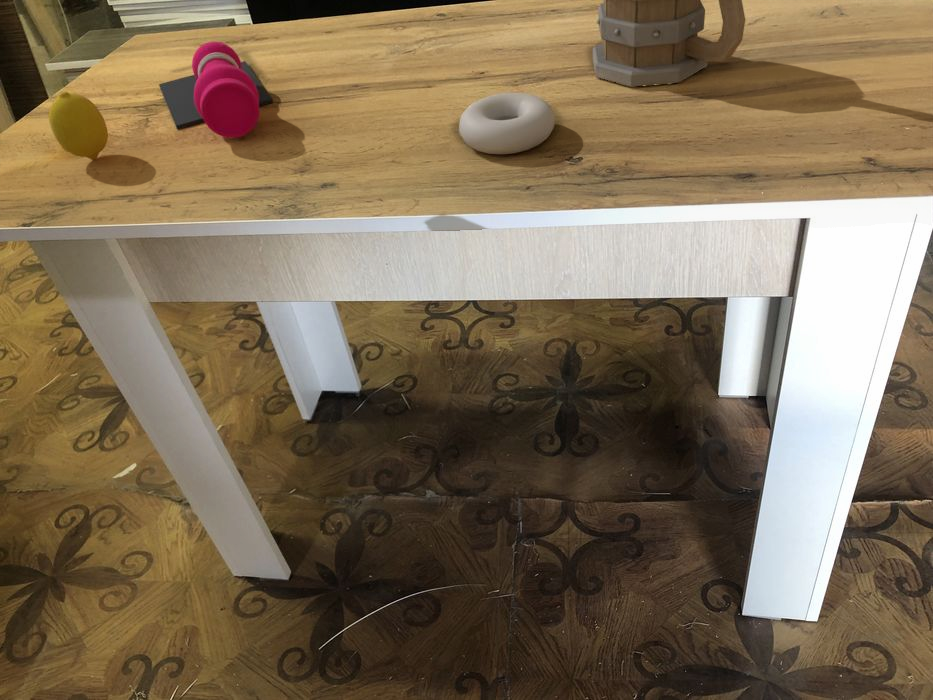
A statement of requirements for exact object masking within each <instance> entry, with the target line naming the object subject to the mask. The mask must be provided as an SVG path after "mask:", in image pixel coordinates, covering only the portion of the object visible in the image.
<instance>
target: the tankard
mask: <svg viewBox="0 0 933 700" xmlns="http://www.w3.org/2000/svg"><path fill="white" fill-rule="evenodd" d="M718 5H719V9H720V15H721V19H722V25H721V33H720V36H719V38H718V40H717V41H711V40H709V39H706V38H703V37H701V36H699V35H698V33H700V32H702V31H703V30H704V29H705V20H706V8H705V6H704V5H703V3H702V1H701V0H603V2H602V3H600V4H599V5H597V7H598V12H597V15H598V16H597V17H598V18H596V24H597V25H598V28H599V29H598V30H599V34H600V38H601V40H602V42H601V43H599V44H597V45H595V46H593V48H592V62H593V69H594V75H595V77H596V78H597V77H598V78H597V79H600V78H601V80H604V79H605V80H604V81H607V80H608V81H607V82H611V81H612V82H611V83H614V82H616V83H615V84H618V83H619V84H618V85H621V84H623V85H622V86H625V85H626V86H625V87H628V86H630V87H629V88H631V87H632V88H635V87H634V86H643V85H654V84H667V85H669V84H668V83H677V82H679V83H681V82H683V81H684V79H685V78H686V79H688V78H690V77H692V76H694V75H695V74H694V73H696V72H697V73H699V72H700V71H699V70H701V69H703V68H705V67H706V68H707V67H708V63H722V64H723V63H726V62H728V61H729V60H730V59H731V58H732V56H733V55H734V54H735V52H736V50H737V49H738V47H739V46H740V44H741V43H742V41H743V37H744V30H745V25H746V15H745V9H744V4H743V0H718ZM706 68H705V69H706ZM703 70H704V69H703ZM698 71H699V72H698ZM701 71H702V70H701ZM697 73H696V74H697ZM693 74H694V75H693ZM691 75H692V76H691ZM689 76H690V77H689ZM687 77H688V78H687ZM686 79H685V80H686ZM682 80H683V81H682ZM680 81H681V82H680ZM677 84H678V83H677Z"/></svg>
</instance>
